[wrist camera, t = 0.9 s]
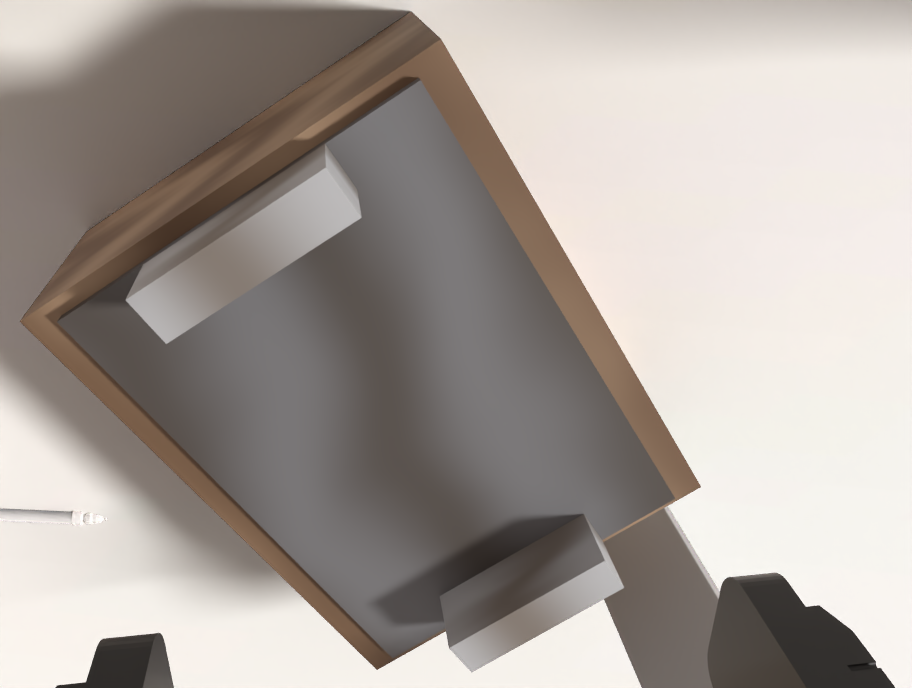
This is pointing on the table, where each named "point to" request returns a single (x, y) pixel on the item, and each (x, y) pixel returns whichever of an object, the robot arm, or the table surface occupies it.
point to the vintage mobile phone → (662, 603)
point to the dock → (374, 361)
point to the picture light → (49, 516)
